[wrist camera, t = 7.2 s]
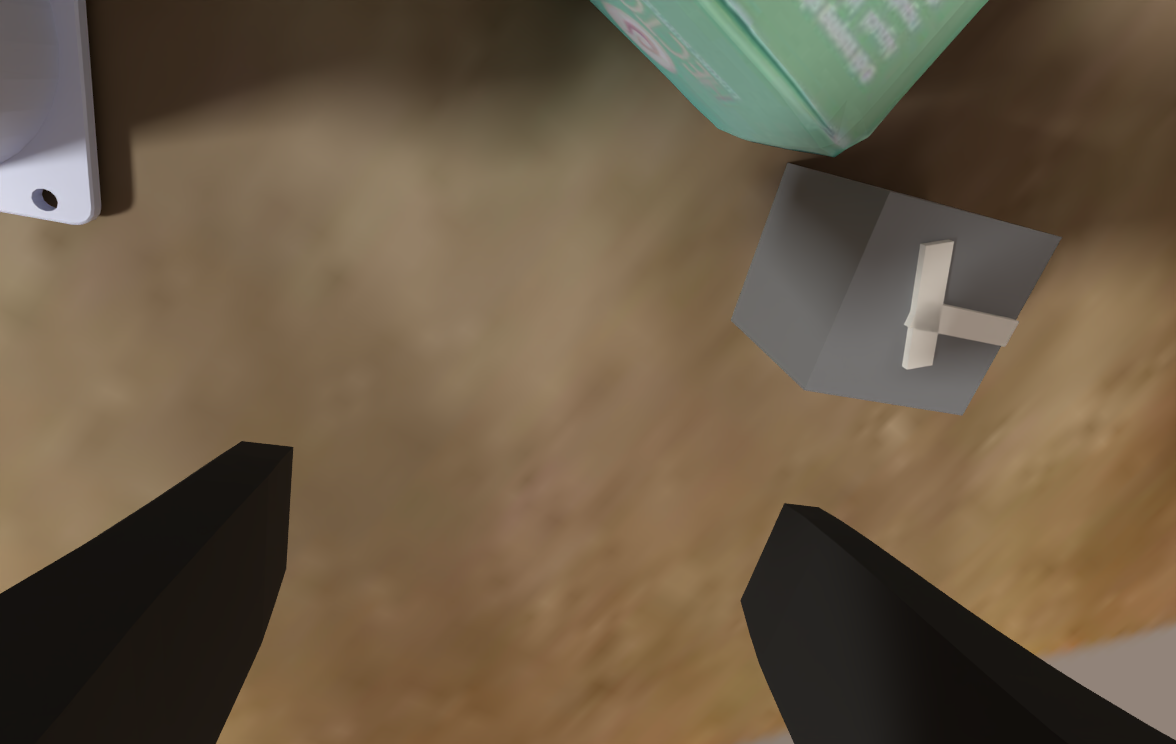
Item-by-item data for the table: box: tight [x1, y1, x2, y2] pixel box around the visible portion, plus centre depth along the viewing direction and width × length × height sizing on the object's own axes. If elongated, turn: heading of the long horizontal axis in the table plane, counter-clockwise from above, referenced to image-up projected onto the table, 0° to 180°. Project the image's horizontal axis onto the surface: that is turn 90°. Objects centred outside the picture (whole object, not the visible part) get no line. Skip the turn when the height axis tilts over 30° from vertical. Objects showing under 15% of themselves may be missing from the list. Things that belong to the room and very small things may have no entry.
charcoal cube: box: [731, 163, 1062, 415], centre depth 17 cm, size 5×5×5 cm
